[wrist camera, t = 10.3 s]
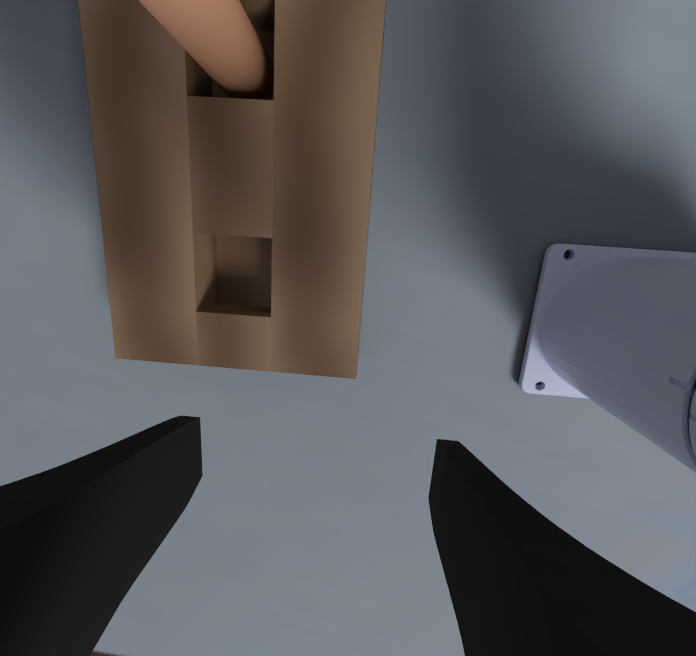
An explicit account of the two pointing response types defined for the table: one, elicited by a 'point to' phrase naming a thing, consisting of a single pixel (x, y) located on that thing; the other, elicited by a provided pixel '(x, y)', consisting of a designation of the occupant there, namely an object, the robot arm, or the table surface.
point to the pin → (219, 43)
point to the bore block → (236, 187)
